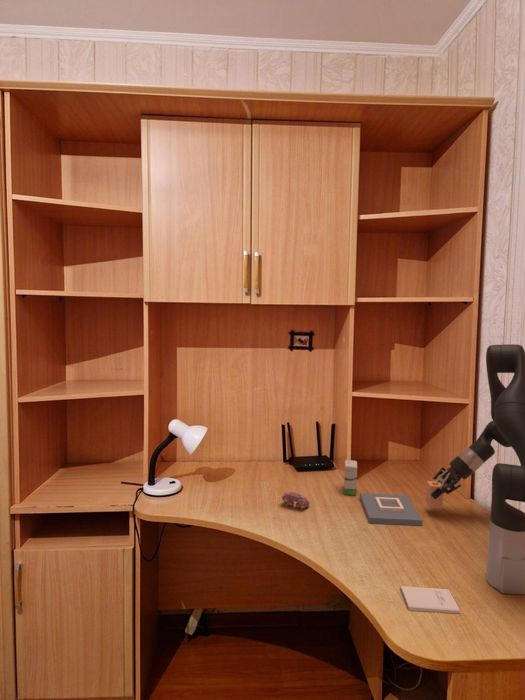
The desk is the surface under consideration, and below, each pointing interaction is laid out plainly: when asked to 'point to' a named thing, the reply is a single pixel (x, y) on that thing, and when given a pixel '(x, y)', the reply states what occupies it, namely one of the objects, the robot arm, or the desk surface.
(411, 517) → the board
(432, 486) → the block
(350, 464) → the ink box
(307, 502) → the purple lumpy oblong
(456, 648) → the desk surface
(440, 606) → the external hard drive
